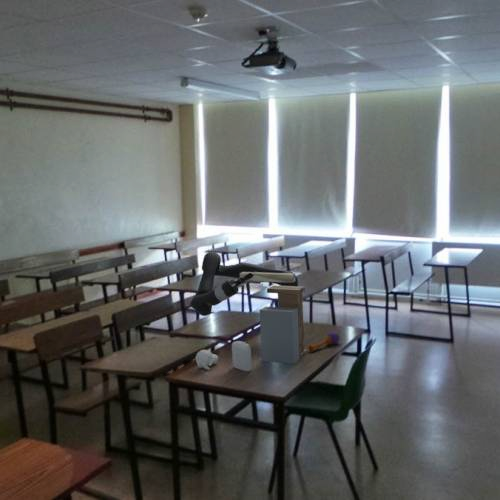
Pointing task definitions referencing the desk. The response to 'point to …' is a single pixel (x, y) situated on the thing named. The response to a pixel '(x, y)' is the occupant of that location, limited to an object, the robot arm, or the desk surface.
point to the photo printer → (241, 356)
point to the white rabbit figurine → (206, 359)
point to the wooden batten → (270, 277)
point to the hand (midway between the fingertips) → (253, 273)
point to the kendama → (326, 341)
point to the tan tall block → (292, 306)
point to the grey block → (279, 334)
